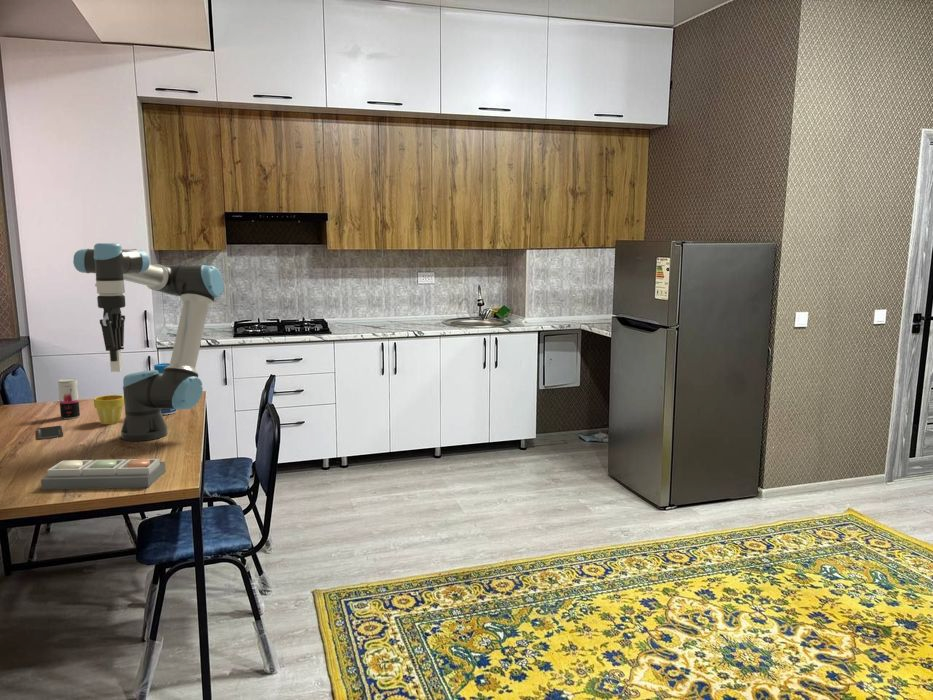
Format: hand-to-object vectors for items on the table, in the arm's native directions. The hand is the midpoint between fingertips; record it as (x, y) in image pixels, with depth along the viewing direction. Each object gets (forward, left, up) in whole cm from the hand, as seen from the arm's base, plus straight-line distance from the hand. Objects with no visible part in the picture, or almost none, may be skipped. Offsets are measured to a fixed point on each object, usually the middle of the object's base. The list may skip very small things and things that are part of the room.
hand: (116, 371), depth 215 cm
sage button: (+16, +2, -26) cm, 30 cm away
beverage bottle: (-66, -9, -30) cm, 73 cm away
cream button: (+16, -8, -26) cm, 31 cm away
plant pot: (-52, -25, -30) cm, 65 cm away
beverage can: (-61, -44, -30) cm, 81 cm away
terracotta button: (+16, +11, -26) cm, 32 cm away
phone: (-37, -40, -30) cm, 62 cm away
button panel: (+16, +2, -29) cm, 34 cm away
